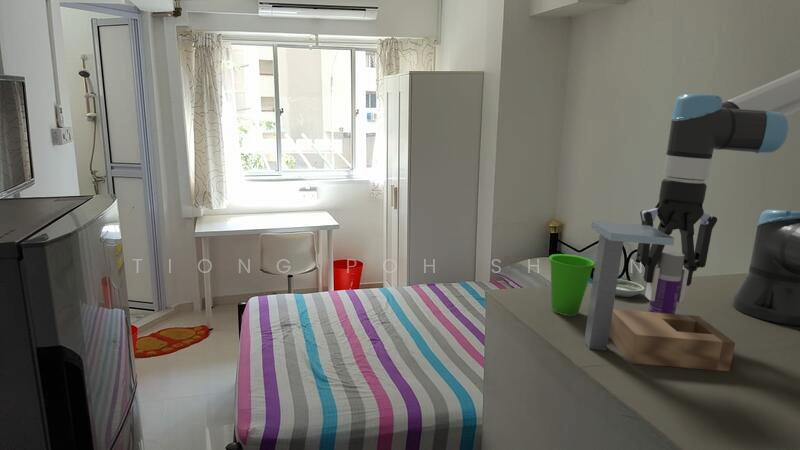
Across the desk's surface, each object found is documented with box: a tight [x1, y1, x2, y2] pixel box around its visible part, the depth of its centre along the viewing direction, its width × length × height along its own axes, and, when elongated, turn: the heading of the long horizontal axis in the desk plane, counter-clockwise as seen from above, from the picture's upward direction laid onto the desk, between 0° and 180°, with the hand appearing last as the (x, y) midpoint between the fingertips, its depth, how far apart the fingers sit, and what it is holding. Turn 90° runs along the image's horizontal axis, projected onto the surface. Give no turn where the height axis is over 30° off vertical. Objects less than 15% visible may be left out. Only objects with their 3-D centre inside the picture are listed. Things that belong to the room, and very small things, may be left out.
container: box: [647, 249, 685, 314], centre depth 106 cm, size 5×5×15 cm
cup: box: [548, 253, 596, 316], centre depth 112 cm, size 9×9×11 cm
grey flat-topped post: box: [583, 220, 675, 351], centre depth 94 cm, size 10×10×21 cm
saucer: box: [615, 278, 646, 298], centre depth 128 cm, size 10×10×2 cm
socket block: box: [608, 308, 736, 372], centre depth 96 cm, size 16×12×5 cm
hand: (663, 299), depth 107 cm, fingers closed on container, 5 cm apart
